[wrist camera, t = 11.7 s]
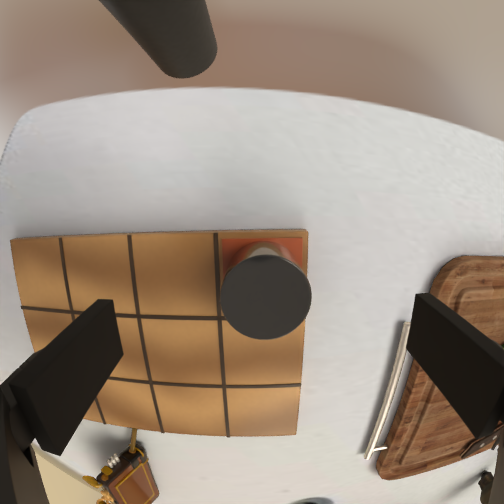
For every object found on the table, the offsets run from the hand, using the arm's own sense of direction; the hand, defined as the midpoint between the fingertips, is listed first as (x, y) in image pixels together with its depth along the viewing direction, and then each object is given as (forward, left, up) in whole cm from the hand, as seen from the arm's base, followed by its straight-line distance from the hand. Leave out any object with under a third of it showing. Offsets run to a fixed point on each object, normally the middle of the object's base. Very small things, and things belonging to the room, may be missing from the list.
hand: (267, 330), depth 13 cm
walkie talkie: (+21, -13, -10) cm, 27 cm away
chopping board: (+13, +33, -10) cm, 37 cm away
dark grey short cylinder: (0, 0, -8) cm, 8 cm away
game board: (+6, -9, -10) cm, 15 cm away
